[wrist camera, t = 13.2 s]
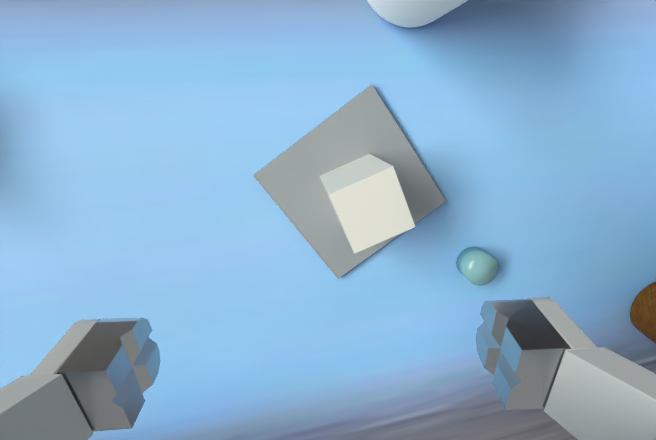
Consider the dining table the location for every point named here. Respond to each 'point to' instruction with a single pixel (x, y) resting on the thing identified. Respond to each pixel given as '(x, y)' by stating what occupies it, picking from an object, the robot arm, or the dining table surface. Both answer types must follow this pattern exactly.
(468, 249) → the pale green rounded capsule
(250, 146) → the dining table surface
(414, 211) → the mat
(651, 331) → the disposable coffee cup
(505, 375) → the robot arm
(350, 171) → the cream white rectangular block
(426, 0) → the beverage can
